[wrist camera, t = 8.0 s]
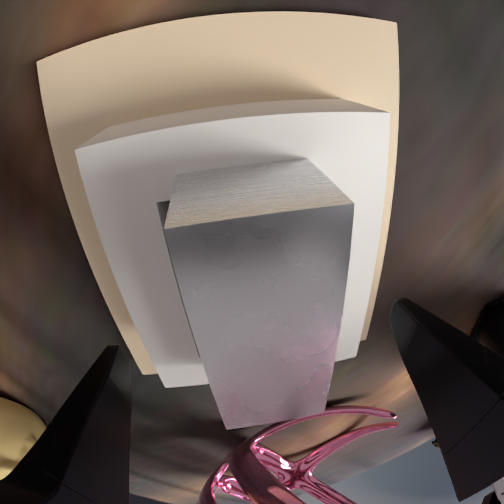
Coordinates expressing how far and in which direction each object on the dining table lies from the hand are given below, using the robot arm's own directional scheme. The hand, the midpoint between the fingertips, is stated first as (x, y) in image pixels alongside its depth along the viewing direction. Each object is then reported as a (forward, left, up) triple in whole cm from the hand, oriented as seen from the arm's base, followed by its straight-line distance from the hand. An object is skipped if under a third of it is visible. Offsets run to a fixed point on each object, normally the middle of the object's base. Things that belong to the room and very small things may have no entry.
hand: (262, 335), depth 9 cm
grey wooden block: (0, 0, -7) cm, 7 cm away
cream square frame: (0, 0, -8) cm, 8 cm away
